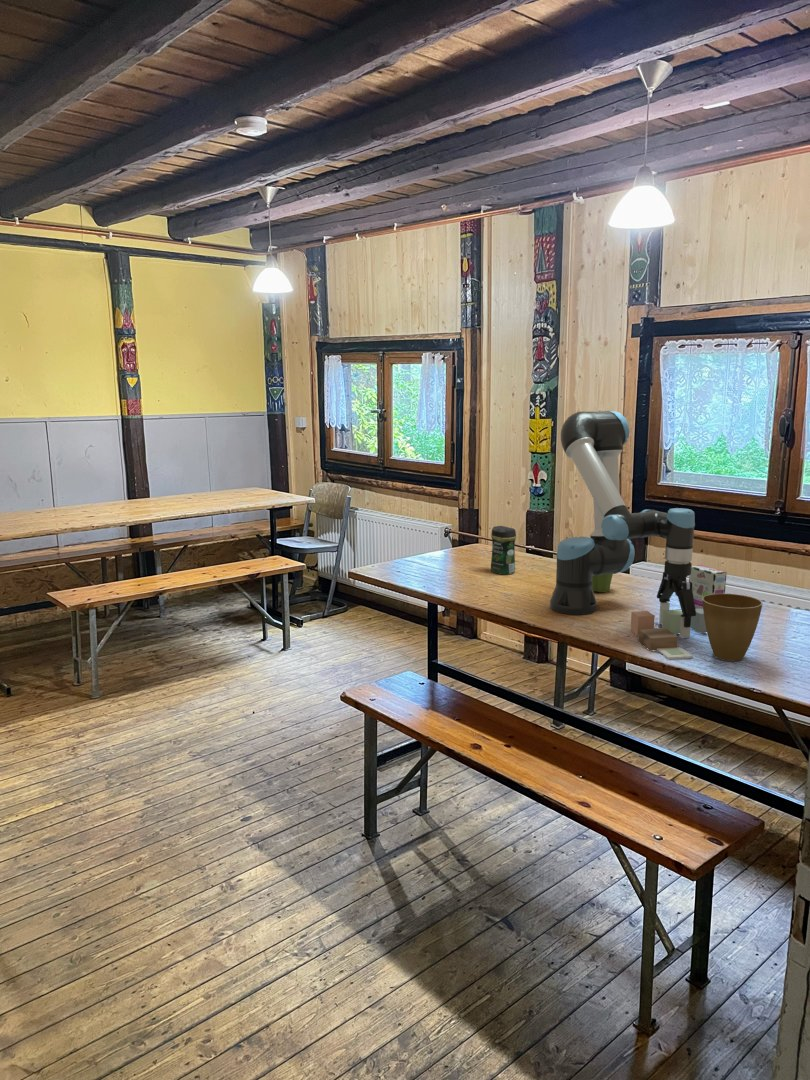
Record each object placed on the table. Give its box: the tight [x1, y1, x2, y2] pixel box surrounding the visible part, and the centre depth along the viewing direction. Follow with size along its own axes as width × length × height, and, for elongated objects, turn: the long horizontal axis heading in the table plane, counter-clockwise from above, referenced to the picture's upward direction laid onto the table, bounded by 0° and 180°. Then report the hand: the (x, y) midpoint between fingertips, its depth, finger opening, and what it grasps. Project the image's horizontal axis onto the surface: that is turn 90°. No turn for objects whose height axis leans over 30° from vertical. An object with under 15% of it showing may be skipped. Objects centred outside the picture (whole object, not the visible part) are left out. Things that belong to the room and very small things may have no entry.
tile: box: [656, 646, 694, 660], centre depth 207 cm, size 7×7×1 cm
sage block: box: [661, 609, 683, 635], centre depth 226 cm, size 5×5×6 cm
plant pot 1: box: [592, 574, 614, 593], centre depth 272 cm, size 12×12×11 cm
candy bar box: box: [688, 564, 727, 609], centre depth 236 cm, size 11×5×16 cm, turn 21°
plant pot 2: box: [702, 593, 763, 662], centre depth 203 cm, size 15×15×16 cm
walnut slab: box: [637, 627, 679, 651], centre depth 214 cm, size 8×8×4 cm
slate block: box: [690, 609, 707, 634], centre depth 227 cm, size 5×5×6 cm
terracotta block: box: [630, 610, 656, 637], centre depth 225 cm, size 5×5×6 cm
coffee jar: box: [490, 525, 517, 575], centre depth 298 cm, size 10×8×19 cm
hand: (673, 630), depth 226 cm, fingers open, 13 cm apart
